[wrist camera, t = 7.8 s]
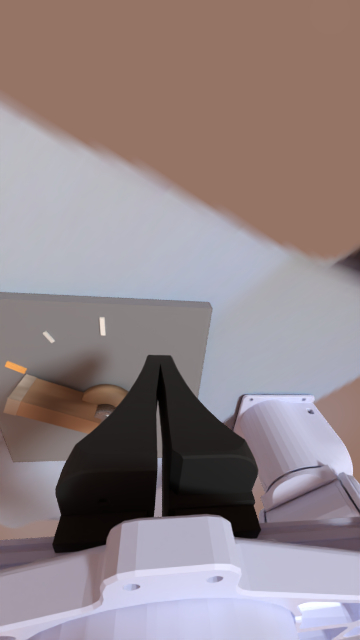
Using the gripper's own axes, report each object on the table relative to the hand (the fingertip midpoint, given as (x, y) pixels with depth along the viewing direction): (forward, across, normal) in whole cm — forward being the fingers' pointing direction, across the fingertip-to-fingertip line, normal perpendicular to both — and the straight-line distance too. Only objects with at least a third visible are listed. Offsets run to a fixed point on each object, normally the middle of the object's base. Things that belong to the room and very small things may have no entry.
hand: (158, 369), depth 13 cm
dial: (+9, +8, +11) cm, 16 cm away
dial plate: (+10, +6, +11) cm, 16 cm away
